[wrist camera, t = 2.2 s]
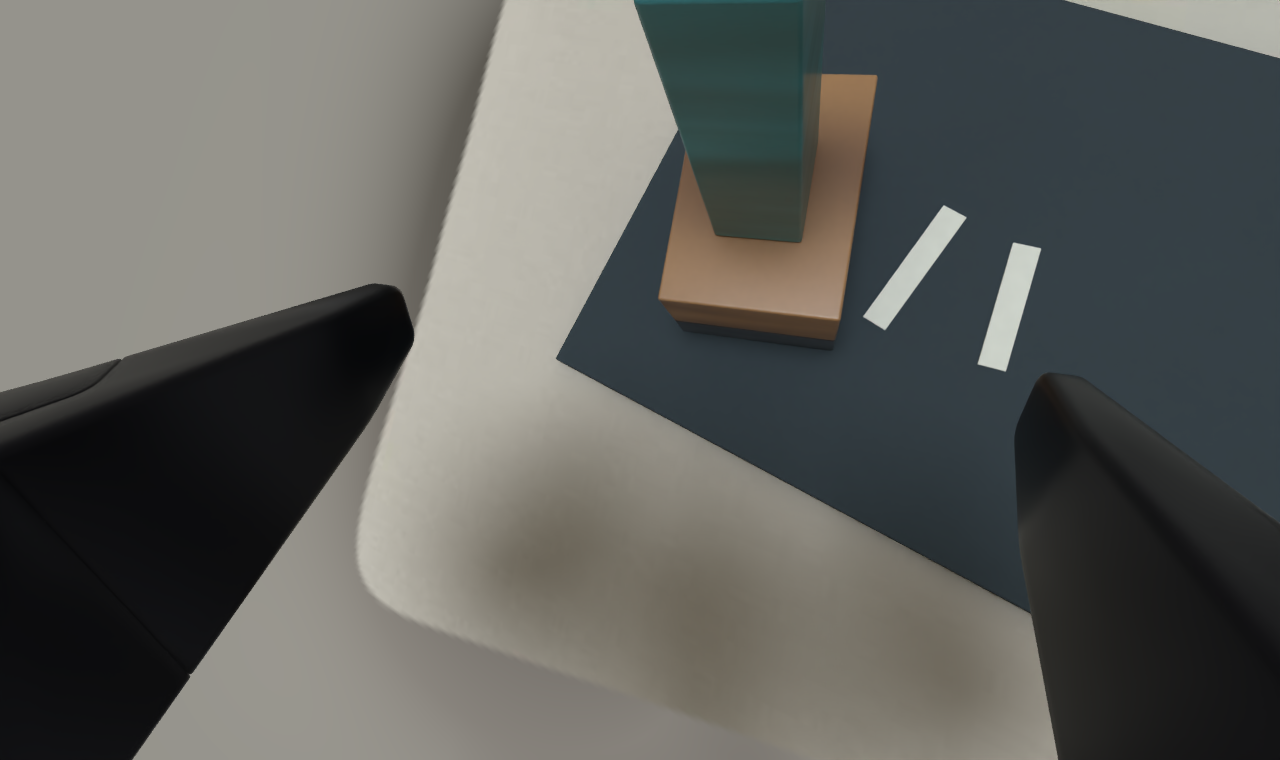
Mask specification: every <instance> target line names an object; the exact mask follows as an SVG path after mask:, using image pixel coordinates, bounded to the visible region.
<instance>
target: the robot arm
mask: <svg viewBox="0 0 1280 760" xmlns="http://www.w3.org/2000/svg"><path fill="white" fill-rule="evenodd" d="M413 342H414V329H413V326H412V322H411V319H410V316H409V312H408V309H407V306H406V303H405V300H404V296H403V294H402V292H401V291H400V290H399V289H398V288H397V287H395V286H390V285H383V284H368V285H365V286H362V287H358V288H355V289H352V290H348V291H345V292H342V293H338V294H335V295H331V296H328V297H325V298H322V299H318V300H315V301H311V302H308V303H305V304H301V305H298V306H294V307H291V308H288V309H285V310H281V311H278V312H274V313H271V314H268V315H264V316H261V317H258V318H254V319H251V320H247V321H244V322H241V323H237V324H234V325H231V326H227V327H224V328H221V329H217V330H214V331H211V332H207V333H204V334H200V335H197V336H194V337H190V338H187V339H184V340H181V341H177V342H174V343H170V344H167V345H164V346H160V347H157V348H153V349H150V350H147V351H143V352H140V353H137V354H133V355H130V356H127V357H125V358H123V359H122V360H121V359H116V360H113V361H110V362H106V363H103V364H99V365H96V366H93V367H90V368H86V369H82V370H79V371H76V372H72V373H68V374H65V375H62V376H58V377H54V378H51V379H48V380H44V381H41V382H37V383H33V384H29V385H26V386H22V387H19V388H15V389H11V390H7V391H4V392H0V760H132V759H133V758H134V756H135V755H136V753H137V752H138V751H139V749H140V748H141V746H142V745H143V744H144V742H145V741H146V739H147V738H148V737H149V735H150V734H151V732H152V731H153V729H154V728H155V727H156V725H157V724H158V722H159V721H160V720H161V718H162V717H163V715H164V714H165V712H166V711H167V710H168V708H169V707H170V705H171V704H172V702H173V701H174V699H175V698H176V697H177V695H178V694H179V693H180V691H181V690H182V688H183V687H184V685H185V684H186V682H187V681H188V680H189V678H190V675H189V674H192V673H193V672H194V670H195V669H196V667H197V666H198V664H199V663H200V662H201V660H202V659H203V658H204V656H205V655H206V653H207V652H208V650H209V649H210V647H211V646H212V645H213V643H214V642H215V640H216V639H217V638H218V636H219V635H220V633H221V632H222V631H223V629H224V628H225V626H226V625H227V623H228V622H229V621H230V619H231V618H232V616H233V615H234V613H235V612H236V611H237V609H238V608H239V606H240V605H241V604H242V602H243V601H244V599H245V598H246V596H247V595H248V593H249V592H250V591H251V589H252V588H253V587H254V585H255V584H256V582H257V581H258V579H259V578H260V577H261V575H262V574H263V572H264V571H265V570H266V568H267V567H268V565H269V564H270V562H271V561H272V560H273V558H274V557H275V555H276V554H277V552H278V551H279V549H280V548H281V547H282V545H283V544H284V543H285V541H286V540H287V538H288V537H289V535H290V534H291V533H292V531H293V530H294V528H295V527H296V525H297V524H298V523H299V521H300V520H301V518H302V517H303V516H304V514H305V513H306V511H307V510H308V509H309V507H310V506H311V504H312V503H313V501H314V500H315V499H316V497H317V496H318V494H319V493H320V491H321V490H322V489H323V487H324V486H325V484H326V483H327V482H328V480H329V479H330V477H331V476H332V474H333V473H334V472H335V470H336V469H337V467H338V466H339V465H340V463H341V462H342V460H343V459H344V457H345V456H346V455H347V453H348V452H349V450H350V449H351V447H352V446H353V445H354V443H355V442H356V440H357V439H358V438H359V436H360V435H361V433H362V432H363V430H364V429H365V427H366V426H367V424H368V423H369V421H370V420H371V418H372V416H373V415H374V413H375V412H376V410H377V408H378V406H379V405H380V403H381V401H382V399H383V397H384V396H385V394H386V392H387V390H388V389H389V387H390V385H391V383H392V381H393V379H394V378H395V376H396V374H397V373H398V371H399V369H400V367H401V365H402V364H403V362H404V360H405V358H406V356H407V355H408V353H409V351H410V349H411V347H412V345H413ZM1014 450H1015V473H1016V495H1017V518H1018V536H1019V548H1020V555H1021V561H1022V567H1023V573H1024V578H1025V583H1026V589H1027V594H1028V599H1029V605H1030V610H1031V616H1032V621H1033V626H1034V632H1035V637H1036V642H1037V648H1038V653H1039V658H1040V664H1041V669H1042V675H1043V680H1044V685H1045V691H1046V696H1047V701H1048V707H1049V712H1050V717H1051V723H1052V728H1053V734H1054V739H1055V744H1056V750H1057V755H1058V760H1280V523H1279V522H1278V521H1277V520H1275V519H1274V518H1273V517H1271V516H1270V515H1269V514H1267V513H1266V512H1265V511H1263V510H1262V509H1260V508H1259V507H1258V506H1256V505H1255V504H1254V503H1252V502H1251V501H1250V500H1248V499H1247V498H1246V497H1244V496H1243V495H1242V494H1240V493H1239V492H1237V491H1236V490H1235V489H1233V488H1232V487H1231V486H1229V485H1228V484H1227V483H1225V482H1224V481H1223V480H1221V479H1220V478H1219V477H1217V476H1216V475H1214V474H1213V473H1212V472H1210V471H1209V470H1208V469H1206V468H1205V467H1204V466H1202V465H1201V464H1200V463H1198V462H1197V461H1196V460H1194V459H1193V458H1191V457H1190V456H1189V455H1187V454H1186V453H1185V452H1183V451H1182V450H1181V449H1179V448H1178V447H1177V446H1175V445H1174V444H1173V443H1171V442H1170V441H1168V440H1167V439H1166V438H1164V437H1163V436H1162V435H1160V434H1159V433H1158V432H1156V431H1155V430H1154V429H1152V428H1151V427H1150V426H1148V425H1147V424H1145V423H1144V422H1143V421H1141V420H1140V419H1139V418H1137V417H1136V416H1135V415H1133V414H1132V413H1131V412H1129V411H1128V410H1127V409H1125V408H1124V407H1123V406H1121V405H1120V404H1118V403H1117V402H1116V401H1114V400H1113V399H1112V398H1110V397H1109V396H1108V395H1106V394H1105V393H1104V392H1102V391H1101V390H1100V389H1098V388H1097V387H1095V386H1094V385H1093V384H1091V383H1090V382H1089V381H1087V380H1086V379H1084V378H1083V377H1080V376H1075V375H1067V374H1059V373H1051V372H1046V373H1044V374H1042V375H1040V377H1039V378H1038V379H1037V380H1036V382H1035V384H1034V387H1033V389H1032V391H1031V393H1030V396H1029V398H1028V400H1027V402H1026V405H1025V407H1024V409H1023V411H1022V414H1021V416H1020V418H1019V421H1018V423H1017V426H1016V430H1015V436H1014Z"/></svg>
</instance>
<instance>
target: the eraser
mask: <svg viewBox="0 0 1280 760" xmlns="http://www.w3.org/2000/svg"><path fill="white" fill-rule="evenodd" d="M825 3H826V0H634V4H635V7H636V10H637V12H638V15H639V18H640V21H641V24H642V27H643V30H644V32H645V35H646V38H647V41H648V44H649V47H650V50H651V53H652V55H653V58H654V61H655V64H656V67H657V70H658V73H659V75H660V78H661V81H662V84H663V87H664V90H665V93H666V95H667V98H668V101H669V104H670V107H671V110H672V113H673V116H674V118H675V121H676V124H677V127H678V130H679V133H680V136H681V138H682V141H683V144H684V147H685V150H686V151H685V156H684V162H683V167H682V172H681V178H680V183H679V188H678V194H677V199H676V205H675V210H674V215H673V221H672V226H671V231H670V237H669V242H668V247H667V253H666V258H665V263H664V269H663V274H662V280H661V285H660V290H659V296H658V299H659V301H660V302H661V303H662V305H663V306H664V307H665V308H666V310H667V311H668V312H669V313H670V315H671V316H672V317H673V318H674V320H675V321H676V322H677V324H678V325H679V326H680V327H681V329H682V330H683V331H687V332H695V333H702V334H710V335H718V336H725V337H733V338H740V339H748V340H755V341H763V342H771V343H778V344H786V345H793V346H801V347H809V348H816V349H824V350H833V347H834V343H835V340H836V336H837V332H838V328H839V324H840V320H841V314H842V308H843V301H844V295H845V288H846V282H847V275H848V269H849V262H850V256H851V249H852V242H853V236H854V229H855V223H856V216H857V210H858V203H859V197H860V190H861V184H862V177H863V171H864V164H865V158H866V151H867V145H868V138H869V132H870V125H871V119H872V112H873V106H874V99H875V93H876V86H877V80H878V77H877V75H849V74H822V59H823V40H824V22H825Z"/></svg>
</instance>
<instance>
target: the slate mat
mask: <svg viewBox="0 0 1280 760" xmlns="http://www.w3.org/2000/svg"><path fill="white" fill-rule="evenodd" d="M822 74H849V75H877V77H878V80H877V86H876V93H875V99H874V106H873V112H872V119H871V125H870V132H869V138H868V145H867V151H866V158H865V164H864V171H863V177H862V184H861V190H860V197H859V203H858V210H857V216H856V223H855V229H854V236H853V242H852V249H851V256H850V262H849V269H848V275H847V282H846V288H845V295H844V301H843V308H842V314H841V320H840V324H839V328H838V332H837V336H836V340H835V343H834V347H833V350H824V349H816V348H809V347H801V346H793V345H786V344H778V343H771V342H763V341H755V340H748V339H740V338H733V337H725V336H718V335H710V334H702V333H695V332H687V331H683V330H682V329H681V327H680V326H679V325H678V324H677V322H676V321H675V320H674V318H673V317H672V316H671V315H670V313H669V312H668V311H667V310H666V308H665V307H664V306H663V305H662V303H661V302H660V301H659V299H658V296H659V290H660V285H661V280H662V274H663V269H664V263H665V258H666V253H667V247H668V242H669V237H670V231H671V226H672V221H673V215H674V210H675V205H676V199H677V194H678V188H679V183H680V178H681V172H682V167H683V162H684V156H685V151H686V150H685V147H684V144H683V141H682V138H681V136H680V133H679V130H678V131H677V133H676V135H675V137H674V139H673V141H672V142H671V144H670V146H669V148H668V150H667V152H666V154H665V156H664V157H663V159H662V161H661V163H660V165H659V167H658V169H657V170H656V172H655V174H654V176H653V178H652V180H651V182H650V184H649V185H648V187H647V189H646V191H645V193H644V195H643V197H642V198H641V200H640V202H639V204H638V206H637V208H636V210H635V212H634V213H633V215H632V217H631V219H630V221H629V223H628V225H627V227H626V228H625V230H624V232H623V234H622V236H621V238H620V240H619V241H618V243H617V245H616V247H615V249H614V251H613V253H612V255H611V256H610V258H609V260H608V262H607V264H606V266H605V268H604V269H603V271H602V273H601V275H600V277H599V279H598V281H597V283H596V284H595V286H594V288H593V290H592V292H591V294H590V296H589V297H588V299H587V301H586V303H585V305H584V307H583V309H582V311H581V312H580V314H579V316H578V318H577V320H576V322H575V324H574V326H573V327H572V329H571V331H570V333H569V335H568V337H567V339H566V340H565V342H564V344H563V346H562V348H561V350H560V352H559V354H558V355H557V357H556V359H557V360H559V361H561V362H562V363H564V364H566V365H568V366H570V367H572V368H574V369H576V370H577V371H579V372H581V373H583V374H585V375H587V376H589V377H590V378H592V379H594V380H596V381H598V382H600V383H602V384H604V385H605V386H607V387H609V388H611V389H613V390H615V391H617V392H618V393H620V394H622V395H624V396H626V397H628V398H630V399H632V400H633V401H635V402H637V403H639V404H641V405H643V406H645V407H646V408H648V409H650V410H652V411H654V412H656V413H658V414H660V415H661V416H663V417H665V418H667V419H669V420H671V421H673V422H675V423H676V424H678V425H680V426H682V427H684V428H686V429H688V430H689V431H691V432H693V433H695V434H697V435H699V436H701V437H703V438H704V439H706V440H708V441H710V442H712V443H714V444H716V445H717V446H719V447H721V448H723V449H725V450H727V451H729V452H731V453H732V454H734V455H736V456H738V457H740V458H742V459H744V460H745V461H747V462H749V463H751V464H753V465H755V466H757V467H759V468H760V469H762V470H764V471H766V472H768V473H770V474H772V475H773V476H775V477H777V478H779V479H781V480H783V481H785V482H787V483H788V484H790V485H792V486H794V487H796V488H798V489H800V490H801V491H803V492H805V493H807V494H809V495H811V496H813V497H815V498H816V499H818V500H820V501H822V502H824V503H826V504H828V505H829V506H831V507H833V508H835V509H837V510H839V511H841V512H843V513H844V514H846V515H848V516H850V517H852V518H854V519H856V520H858V521H859V522H861V523H863V524H865V525H867V526H869V527H871V528H872V529H874V530H876V531H878V532H880V533H882V534H884V535H886V536H887V537H889V538H891V539H893V540H895V541H897V542H899V543H900V544H902V545H904V546H906V547H908V548H910V549H912V550H914V551H915V552H917V553H919V554H921V555H923V556H925V557H927V558H928V559H930V560H932V561H934V562H936V563H938V564H940V565H942V566H943V567H945V568H947V569H949V570H951V571H953V572H955V573H956V574H958V575H960V576H962V577H964V578H966V579H968V580H970V581H971V582H973V583H975V584H977V585H979V586H981V587H983V588H984V589H986V590H988V591H990V592H992V593H994V594H996V595H998V596H999V597H1001V598H1003V599H1005V600H1007V601H1009V602H1011V603H1012V604H1014V605H1016V606H1018V607H1020V608H1022V609H1024V610H1026V611H1027V612H1029V613H1031V610H1030V605H1029V599H1028V594H1027V589H1026V583H1025V578H1024V573H1023V567H1022V561H1021V555H1020V548H1019V536H1018V518H1017V495H1016V473H1015V450H1014V436H1015V430H1016V426H1017V423H1018V421H1019V418H1020V416H1021V414H1022V411H1023V409H1024V407H1025V405H1026V402H1027V400H1028V398H1029V396H1030V393H1031V391H1032V389H1033V387H1034V384H1035V382H1036V380H1037V379H1038V378H1039V377H1040V375H1042V374H1044V373H1046V372H1051V373H1059V374H1067V375H1075V376H1080V377H1083V378H1084V379H1086V380H1087V381H1089V382H1090V383H1091V384H1093V385H1094V386H1095V387H1097V388H1098V389H1100V390H1101V391H1102V392H1104V393H1105V394H1106V395H1108V396H1109V397H1110V398H1112V399H1113V400H1114V401H1116V402H1117V403H1118V404H1120V405H1121V406H1123V407H1124V408H1125V409H1127V410H1128V411H1129V412H1131V413H1132V414H1133V415H1135V416H1136V417H1137V418H1139V419H1140V420H1141V421H1143V422H1144V423H1145V424H1147V425H1148V426H1150V427H1151V428H1152V429H1154V430H1155V431H1156V432H1158V433H1159V434H1160V435H1162V436H1163V437H1164V438H1166V439H1167V440H1168V441H1170V442H1171V443H1173V444H1174V445H1175V446H1177V447H1178V448H1179V449H1181V450H1182V451H1183V452H1185V453H1186V454H1187V455H1189V456H1190V457H1191V458H1193V459H1194V460H1196V461H1197V462H1198V463H1200V464H1201V465H1202V466H1204V467H1205V468H1206V469H1208V470H1209V471H1210V472H1212V473H1213V474H1214V475H1216V476H1217V477H1219V478H1220V479H1221V480H1223V481H1224V482H1225V483H1227V484H1228V485H1229V486H1231V487H1232V488H1233V489H1235V490H1236V491H1237V492H1239V493H1240V494H1242V495H1243V496H1244V497H1246V498H1247V499H1248V500H1250V501H1251V502H1252V503H1254V504H1255V505H1256V506H1258V507H1259V508H1260V509H1262V510H1263V511H1265V512H1266V513H1267V514H1269V515H1270V516H1271V517H1273V518H1274V519H1275V520H1277V521H1278V522H1279V523H1280V58H1276V57H1272V56H1269V55H1265V54H1261V53H1258V52H1254V51H1250V50H1246V49H1243V48H1239V47H1235V46H1232V45H1228V44H1224V43H1221V42H1217V41H1213V40H1209V39H1206V38H1202V37H1198V36H1195V35H1191V34H1187V33H1183V32H1180V31H1176V30H1172V29H1169V28H1165V27H1161V26H1157V25H1154V24H1150V23H1146V22H1143V21H1139V20H1135V19H1131V18H1128V17H1124V16H1120V15H1117V14H1113V13H1109V12H1105V11H1102V10H1098V9H1094V8H1091V7H1087V6H1083V5H1079V4H1076V3H1072V2H1068V1H1065V0H826V3H825V22H824V40H823V59H822Z"/></svg>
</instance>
